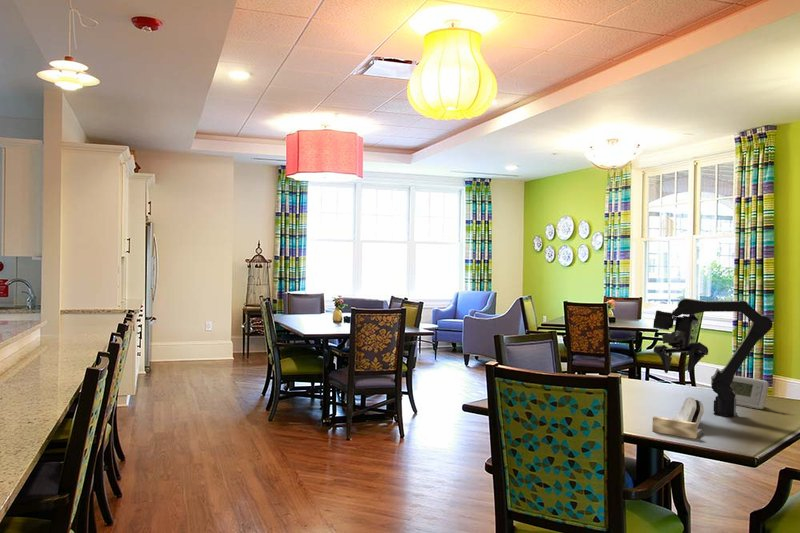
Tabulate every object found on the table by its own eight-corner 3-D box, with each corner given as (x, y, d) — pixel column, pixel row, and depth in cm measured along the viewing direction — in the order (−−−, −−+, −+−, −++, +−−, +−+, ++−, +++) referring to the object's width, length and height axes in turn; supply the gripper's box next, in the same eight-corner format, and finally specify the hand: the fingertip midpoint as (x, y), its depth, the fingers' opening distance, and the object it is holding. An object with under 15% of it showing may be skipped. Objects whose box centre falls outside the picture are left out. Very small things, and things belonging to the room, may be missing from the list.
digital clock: (719, 401, 260) (720, 374, 260) (736, 400, 264) (736, 373, 264) (755, 411, 245) (756, 382, 245) (772, 409, 249) (773, 381, 249)
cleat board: (702, 433, 212) (702, 419, 212) (695, 438, 206) (695, 424, 206) (659, 426, 220) (660, 412, 220) (652, 431, 214) (652, 417, 214)
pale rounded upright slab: (673, 417, 233) (684, 391, 232) (687, 423, 231) (698, 397, 230) (679, 429, 217) (691, 401, 215) (694, 435, 215) (706, 407, 214)
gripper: (647, 325, 247) (641, 365, 241) (692, 320, 232) (687, 363, 226) (665, 337, 252) (659, 376, 246) (711, 333, 236) (706, 374, 231)
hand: (677, 372), depth 237 cm, fingers open, 9 cm apart
